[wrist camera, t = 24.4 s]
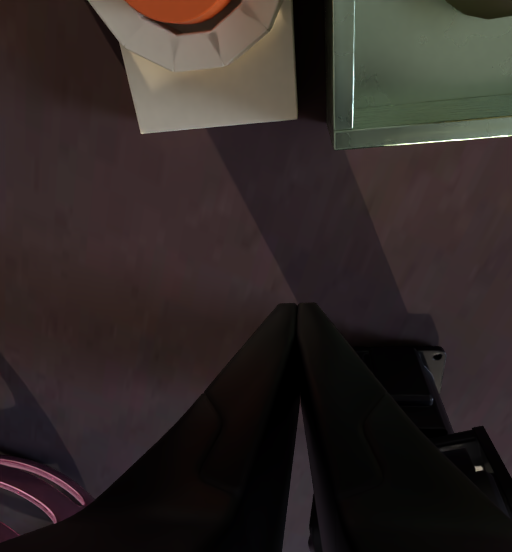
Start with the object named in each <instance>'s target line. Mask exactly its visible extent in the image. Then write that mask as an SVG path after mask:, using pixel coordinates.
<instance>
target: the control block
mask: <svg viewBox="0 0 512 552" xmlns="http://www.w3.org/2000/svg"><path fill="white" fill-rule="evenodd" d="M88 2H89V3H90V4H91V6H92V7H93V8H94V10H95V11H96V12H97V13H98V15H99V16H100V17H101V19H102V20H103V21H104V23H105V24H106V25H107V27H108V28H109V29H110V31H111V32H112V33H113V35H114V36H115V37H116V39H117V40H118V41H119V43H120V48H121V52H122V56H123V60H124V64H125V69H126V73H127V77H128V81H129V86H130V90H131V94H132V98H133V103H134V107H135V111H136V115H137V120H138V124H139V128H140V132H141V133H142V134H143V133H154V132H165V131H176V130H187V129H198V128H209V127H219V126H230V125H241V124H252V123H263V122H274V121H285V120H295V119H297V118H298V100H297V79H296V59H295V38H294V18H293V0H231V1H230V3H229V4H228V5H227V6H226V7H225V8H224V9H223V10H222V11H221V12H220V13H219V14H217V15H216V16H214V17H213V18H211V19H209V20H207V21H204V22H201V23H197V24H174V23H165V22H160V21H156V20H153V19H151V18H148V17H146V16H144V15H142V14H141V13H139V12H137V11H136V10H135V9H133V8H132V7H131V6H130V5H128V4H127V3H126V2H125V1H124V0H88Z"/></svg>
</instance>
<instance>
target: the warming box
mask: <svg viewBox="0 0 512 552" xmlns="http://www.w3.org/2000/svg"><path fill="white" fill-rule="evenodd" d="M324 6H325V67H326V123H327V127H328V131H329V134H330V138H331V141H332V145H333V149H334V150H347V149H360V148H372V147H384V146H397V145H409V144H422V143H434V142H446V141H459V140H471V139H484V138H496V137H508V136H512V16H508V17H502V18H496V19H489V20H488V19H483V18H478V17H473V16H468V15H465V14H463V13H462V12H460V11H459V10H457V9H456V8H455V7H453V6H452V5H450V4H449V3H447V2H446V1H445V0H324Z"/></svg>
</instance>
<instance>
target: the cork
mask: <svg viewBox="0 0 512 552" xmlns="http://www.w3.org/2000/svg"><path fill="white" fill-rule="evenodd" d="M445 1H446V2H447V3H449V4H450V5H452V6H453V7H455V8H456V9H457V10H459V11H460V12H462V13H463V14H465V15H468V16H473V17H478V18H483V19H488V20H489V19H496V18H502V17H508V16H512V0H445Z"/></svg>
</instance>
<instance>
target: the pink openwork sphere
mask: <svg viewBox="0 0 512 552" xmlns="http://www.w3.org/2000/svg"><path fill="white" fill-rule="evenodd" d="M22 470H23V471H22ZM24 471H26V472H24ZM27 472H30V473H33V474H35V475H38V476H40V477H43V478H45V479H47V480H49V481H51V482H53V483H54V484H56V485H58V486H59V487H61V488H62V489H64V490H65V491H67V492H68V493H69V494H70V495H72V496H73V497H74V498H75V499H76V500H77V501H78V502H79V503H80V504H81V505H82V506H83V507H81V506H79V505H77V504H76V503H74V502H73V501H71V500H70V499H69V498H67V497H66V496H65V495H64V494H62V493H61V492H60V491H58V490H57V489H56V488H54V487H53V486H51V485H50V484H48V483H46V482H45V481H43V480H41V479H39V478H37V477H36V476H33V475H31V474H29V473H27ZM0 487H1V488H4V489H6V490H9V491H11V492H13V493H16V494H18V495H20V496H21V497H23V498H25V499H27V500H28V501H30V502H32V503H33V504H35V505H36V506H38V507H39V508H40V509H42V510H43V511H44V512H45V513H46V514H47V515H48V516H49V517H50V518H51V520H52V521H53V523H54V524H55V523H57V522H60V521H62V520H64V519H66V518H68V517H70V516H72V515H74V514H76V513H77V512H79V511H81V510H82V509H84V508H85V507H86V506H88V505H89V504H90V503H92V502H93V501H94V500H95V499H94V498H93V497H92V496H91V495H90V494H89V493H88V492H87V491H86V490H85V489H84V488H83V487H81V486H80V485H79V484H78V483H76V482H75V481H74V480H72V479H71V478H69V477H68V476H66V475H65V474H63V473H61V472H59V471H57V470H55V469H53V468H51V467H49V466H47V465H44V464H42V463H39V462H36V461H33V460H29V459H26V458H21V457H16V456H11V455H2V454H0ZM18 536H20V535H19V534H18V533H16V532H15V531H14V530H12V529H11V528H10V527H8V526H7V525H5V524H4V523H2V522H1V521H0V543H1V542H4V541H7V540H9V539H12V538H15V537H18Z"/></svg>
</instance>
